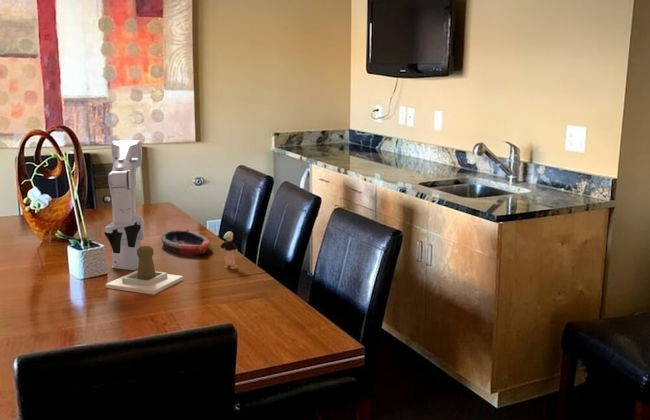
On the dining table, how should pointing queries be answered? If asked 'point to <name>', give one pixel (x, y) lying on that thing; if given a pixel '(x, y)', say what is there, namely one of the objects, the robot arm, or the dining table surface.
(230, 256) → the grandmother figurine
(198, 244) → the dish
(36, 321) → the dining table surface
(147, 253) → the cork
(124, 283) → the holder board
